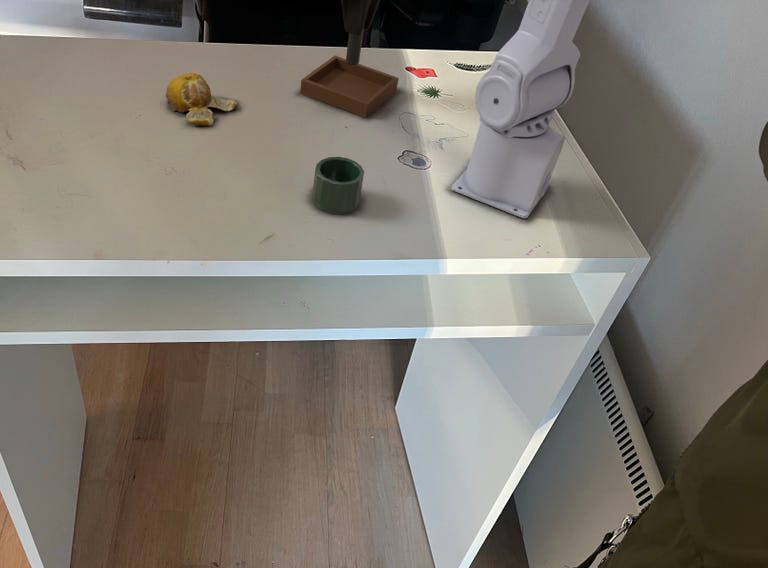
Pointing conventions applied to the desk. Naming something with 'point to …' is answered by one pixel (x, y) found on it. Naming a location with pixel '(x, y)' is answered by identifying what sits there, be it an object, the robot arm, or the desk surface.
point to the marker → (354, 48)
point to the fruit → (195, 98)
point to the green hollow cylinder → (337, 185)
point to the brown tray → (349, 86)
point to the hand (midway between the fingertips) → (357, 29)
